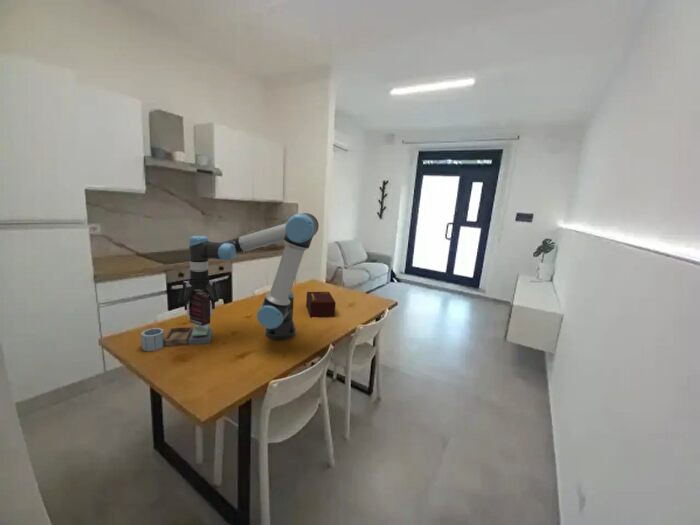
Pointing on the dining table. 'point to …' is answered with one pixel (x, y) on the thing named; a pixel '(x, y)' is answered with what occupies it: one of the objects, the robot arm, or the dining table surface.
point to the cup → (152, 339)
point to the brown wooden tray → (177, 336)
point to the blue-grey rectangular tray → (200, 338)
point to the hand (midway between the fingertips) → (200, 315)
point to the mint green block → (200, 330)
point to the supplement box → (200, 308)
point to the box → (320, 304)
